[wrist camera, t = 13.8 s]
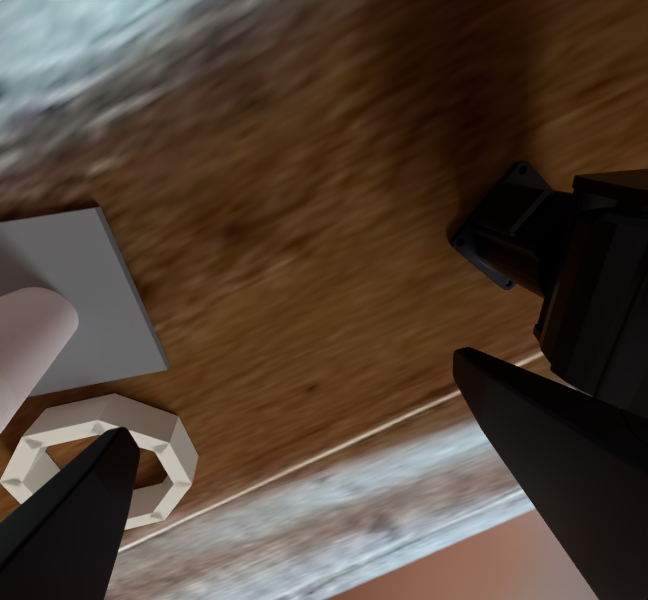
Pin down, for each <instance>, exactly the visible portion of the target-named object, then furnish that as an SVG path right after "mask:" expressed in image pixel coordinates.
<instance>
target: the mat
mask: <svg viewBox="0 0 648 600" xmlns="http://www.w3.org/2000/svg"><path fill="white" fill-rule="evenodd" d="M27 287H40V288H45V289H49V290H52V291H54V292H56V293H58V294H60V295H62V296H63V297H65V298H66V299H67V300H68V301H69V302H70V303H71V304H72V305H73V307H74V308H75V310H76V312H77V315H78V320H79V322H78V327H77V329H76V331H75V332H74V334H73V335H72V336H71V338H70V339H69V341H68V342H67V343H66V345H65V346H64V347H63V349H62V350H61V351H60V353H59V354H58V356H57V357H56V358H55V360H54V361H53V362H52V364H51V365H50V367H49V368H48V369H47V371H46V372H45V373H44V375H43V376H42V377H41V379H40V380H39V382H38V383H37V384H36V386H35V387H34V388H33V390H32V391H31V392H30V394H29V395H28V397H32V396H37V395H42V394H47V393H52V392H57V391H62V390H67V389H72V388H77V387H82V386H87V385H93V384H98V383H103V382H108V381H113V380H118V379H123V378H128V377H133V376H138V375H143V374H148V373H154V372H159V371H164V370H167V369H168V367H169V365H170V364H169V362H168V359H167V357H166V355H165V353H164V350H163V348H162V346H161V344H160V341H159V339H158V337H157V334H156V332H155V330H154V328H153V325H152V323H151V321H150V319H149V316H148V314H147V312H146V309H145V307H144V305H143V303H142V300H141V298H140V296H139V293H138V291H137V289H136V287H135V284H134V282H133V280H132V278H131V275H130V273H129V271H128V268H127V266H126V264H125V262H124V259H123V257H122V255H121V252H120V250H119V248H118V246H117V243H116V241H115V239H114V237H113V234H112V232H111V230H110V227H109V225H108V223H107V221H106V218H105V216H104V214H103V212H102V209H101V207H100V206H99V207H93V208H87V209H80V210H74V211H67V212H61V213H54V214H48V215H42V216H35V217H29V218H22V219H16V220H9V221H3V222H0V297H1V296H3V295H6V294H9V293H11V292H14V291H17V290H19V289H22V288H27Z"/></svg>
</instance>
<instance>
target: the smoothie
mask: <svg viewBox="0 0 648 600" xmlns="http://www.w3.org/2000/svg"><path fill="white" fill-rule="evenodd" d="M78 322H79V320H78V315H77V312H76V310H75V308H74V307H73V305H72V304H71V303H70V302H69V301H68V300H67V299H66V298H65V297H63V296H62V295H60V294H58V293H56V292H54V291H52V290H49V289H45V288H40V287H27V288H22V289H19V290H17V291H14V292H11V293H9V294H6V295H3V296H1V297H0V434H1V432H2V431H3V430H4V428H5V427H6V426H7V424H8V423H9V422H10V420H11V419H12V417H13V416H14V414H15V413H16V412H17V410H18V409H19V408H20V406H21V405H22V403H23V402H24V401H25V399H26V398H27V397H28V395H29V394H30V392H31V391H32V390H33V388H34V387H35V386H36V384H37V383H38V382H39V380H40V379H41V377H42V376H43V375H44V373H45V372H46V371H47V369H48V368H49V367H50V365H51V364H52V362H53V361H54V360H55V358H56V357H57V356H58V354H59V353H60V351H61V350H62V349H63V347H64V346H65V345H66V343H67V342H68V341H69V339H70V338H71V336H72V335H73V334H74V332H75V331H76V329H77V327H78Z"/></svg>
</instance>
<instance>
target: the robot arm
mask: <svg viewBox="0 0 648 600" xmlns="http://www.w3.org/2000/svg"><path fill="white" fill-rule="evenodd" d="M520 167H522V171H521V173H519V169H520ZM572 188H574V191H573V193H568V192H562V191H555V190H552V188H551V187H550V186H549V185H548V184H547V183H546V182H545V180H544V179H543V178H542V177H541V176H540V175H539V174H538V173H537V171H536V170H535V169H534V168H533V167H532V166H531V165H530V164H529V163H528V162H526V161H519V162H516V163H515V164H514V165H513V166H512V167H511V169H510V170H509V171H508V172H507V173H506V175H505V176H504V177H503V178H502V179H501V180H500V182H499V183H497V184H496V185H495V186H494V187H493V188H492V189H491V191H490V192H489V193H488V194H487V195H486V196H485V198H484V199H483V200H482V201H481V202H480V204H479V205H478V206H477V207H476V208H475V209H474V211H473V212H472V213H471V214H470V217H469V218H468V219H467V221H466V222H465V223H464V224H463V225H462V227H461V228H460V229H459V230H458V231H457V232H456V234H455V235H454V236H453V237H452V239H451V242H450V243H451V246H452V247H453V248H454V249H455V250H456V251H458V252H459V253H460V254H461V255H462V256H464V257H465V258H466V259H467V260H468V261H470V262H471V263H472V264H473V265H475V266H476V267H477V268H478V269H479V270H481V271H482V272H483V273H484V274H485V275H487V276H488V277H489V278H490V279H491V280H493V281H494V282H495V283H496V284H497V285H499V286H500V287H501V288H503V289H505V290H510V289H511V288H513V287H514V286H515V285H516V284H519V285H520V286H522V287H524V288H526V289H528V290H529V291H531V292H533V293H535V294H537V295H538V296H540V297H542V298H544V302H543V305H542V309H541V313H540V317H539V320H538V324H535V327H534V331H533V334H534V335H535V337H536V338H537V340H538V341H539V343H540V348H541V351H542V352H543V354H544V355H545V357H546V358H547V359H548V361H549V362H550V363H551V366H550V370H551V371H552V372H553V373H554V374H555V375H556V376H557V377H559V378H560V379H561V380H563V381H564V382H565V383H567V384H568V385H570V386H572V387H573V388H575V389H576V390H574V389H572V388H569V387H567V386H565V385H562V384H560V383H557V382H555V381H552V380H550V379H547V378H545V377H542V376H540V375H537V374H535V373H532V372H530V371H528V370H525V369H523V368H520V367H518V366H515V365H513V364H510V363H508V362H505V361H503V360H500V359H498V358H495V357H493V356H491V355H488V354H486V353H483V352H481V351H478V350H476V349H473V348H471V347H465V348H461V349H457V350H455V351H454V354H453V377H454V380H455V382H456V384H457V386H458V388H459V390H460V391H461V393H462V395H463V397H464V399H465V400H466V402H467V404H468V406H469V408H470V410H471V411H472V413H473V415H474V417H475V419H476V421H477V422H478V424H479V426H480V428H481V429H482V431H483V432H484V434H485V435H486V437H487V438H488V440H489V441H490V443H491V444H492V446H493V447H494V448H495V450H496V451H497V453H498V454H499V456H500V457H501V459H502V460H503V461H504V463H505V464H506V466H507V467H508V469H509V470H510V472H511V473H512V474H513V476H514V477H515V479H516V480H517V482H518V483H519V485H520V486H521V488H522V489H523V490H524V492H525V493H526V495H527V496H528V498H529V499H530V501H531V502H532V503H533V505H534V506H535V508H536V509H537V511H538V512H539V514H540V515H541V516H542V518H543V519H544V521H545V522H546V524H547V525H548V527H549V528H550V529H551V531H552V532H553V534H554V535H555V537H556V538H557V540H558V541H559V542H560V544H561V545H562V547H563V548H564V549H565V551H566V553H567V554H568V555H569V557H570V558H571V560H572V561H573V563H574V564H575V566H576V567H577V569H578V570H579V571H580V573H581V574H582V576H583V577H584V578H585V580H586V582H587V583H588V584H589V586H590V587H591V589H592V590H593V592H594V593H595V595H596V596H597V597H598V599H599V600H648V169H640V170H629V171H618V172H607V173H596V174H585V175H575V177H574V181H573V185H572ZM459 239H461V242H460V244H458V245H457V242H458V240H459ZM508 281H509V282H508ZM507 282H508V284H506V283H507ZM577 390H578V391H577ZM139 458H140V449H139V446H138V445H137V443H136V441H135V440H134V438H133V436H132V435H131V433H130V432H129V430H128V429H127V428H126V427H117V428H113V429H109V430H107V431H105V432H104V433H103V434H102V435H101V436H99V437H98V438H97V439H96V440H95V441H94V442H93V443H91V444H90V445H89V446H88V447H87V448H86V449H84V450H83V451H82V452H81V453H80V454H79V455H78V456H76V457H75V458H74V459H73V460H72V461H71V462H70V463H68V464H67V465H66V466H65V467H64V468H63V469H61V470H60V471H59V472H58V473H57V474H56V475H55V476H53V477H52V478H51V479H50V480H49V481H48V482H47V483H45V484H44V485H43V486H42V487H41V488H40V489H38V490H37V491H36V492H35V493H34V494H33V495H32V496H30V497H29V498H28V499H27V500H26V501H25V502H24V503H22V504H21V505H20V506H19V507H18V508H17V509H15V510H14V511H13V512H12V513H11V514H10V515H9V516H7V517H6V518H5V519H4V520H3V521H2V522H1V523H0V600H104V597H105V594H106V591H107V587H108V584H109V580H110V577H111V574H112V570H113V567H114V563H115V560H116V557H117V553H118V550H119V547H120V543H121V540H122V536H123V533H124V530H125V526H126V522H127V519H128V514H129V510H130V505H131V500H132V495H133V490H134V484H135V479H136V474H137V469H138V464H139Z"/></svg>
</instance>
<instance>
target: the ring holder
mask: <svg viewBox="0 0 648 600" xmlns="http://www.w3.org/2000/svg"><path fill="white" fill-rule="evenodd" d="M117 427H126V428H127V429H128V430H129V432H130V433H131V435H132V436H133V438H134V440H135V441H136V443H137V445H138V446H139V447H141V448H144V449H148V450H151V451H154V452H155V453H156V455H157V457H158V458H159V460H160V462H161V463H162V465H163V467H164V468H165V470H166V472H167V474H168V476H167V477H166V478H165V480H164V481H163V483H161V484H156V485H152V486H148V487H144V488H140V489H135V490H133V495H132V500H131V505H130V510H129V514H128V519H127V522H126V526H125V530H126V529H130V528H134V527H138V526H142V525H146V524H150V523H154V522H158V521H162V520H165V519H166V517H167V516H168V515H169V514H170V512H171V511H172V510H173V508H174V507H175V506H176V504H177V503H178V502H179V501H180V499H181V498H182V497H183V495H184V494H185V493H186V492H187V490H188V489H189V488H190V486H191V485H192V483H193V479H194V475H195V470H196V466H197V462H198V457H199V456H198V454H197V452H196V450H195V448H194V446H193V444H192V442H191V440H190V438H189V436H188V434H187V432H186V430H185V428H184V426H183V424H182V422H181V420H180V418H179V416H177V415H174V414H171V413H168V412H166V411H163V410H160V409H157V408H154V407H152V406H149V405H146V404H143V403H140V402H138V401H135V400H132V399H129V398H126V397H124V396H121V395H118V394H115V393H114V394H109V395H105V396H100V397H96V398H91V399H86V400H82V401H77V402H73V403H68V404H64V405H59V406H54V407H50V408H46V409H45V410H44V411H43V412H42V414H41V415H40V416H39V417H38V418H37V419H36V421H35V422H34V423H33V424H32V425H31V426H30V428H29V429H28V430H27V431H26V432H25V433H24V435H23V436H22V438H21V440H20V442H19V444H18V446H17V448H16V450H15V452H14V454H13V456H12V458H11V460H10V462H9V464H8V466H7V468H6V470H5V472H4V474H3V476H2V478H1V480H0V483H1V484H2V485H3V486H4V487H5V488H6V489H7V490H8V491H9V492H10V493H11V494H12V495H13V496H14V497H15V498H16V499H17V500H18V501H19V502H20V504H22V503H24V502H25V501H26V500H27V499H28V498H29V497H30V496H32V495H33V494H34V493H35V492H36V491H37V490H38V489H40V488H41V487H42V486H43V485H44V484H45V483H47V482H48V481H49V480H50V479H51V478H52V477H53V476H55V475H56V474H57V473H58V472H59V471H60V469H59V468H58V466H57V465H56V464H55V463H54V462H53V460H52V459H51V458H50V457H49V456H48V454H47V453H46V452H45V451H46V449H47V447H48V446H50V445H55V444H59V443H64V442H68V441H72V440H77V439H81V438H86V437H90V436H95V435H102V434H103V433H104V432H105V431H107V430H109V429H113V428H117Z"/></svg>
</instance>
